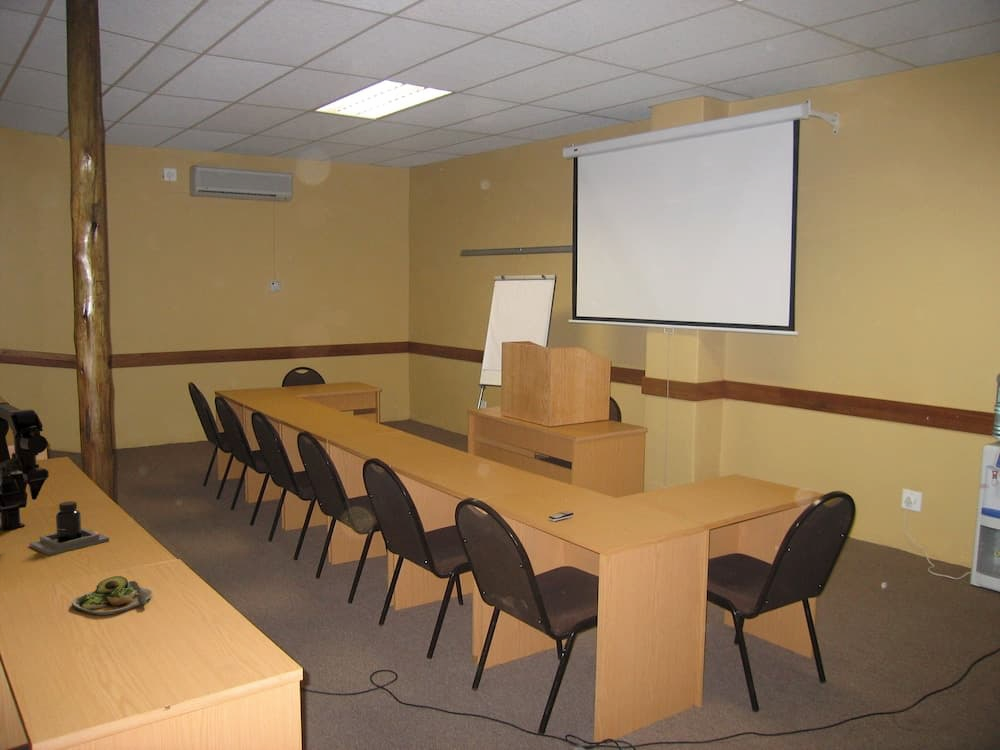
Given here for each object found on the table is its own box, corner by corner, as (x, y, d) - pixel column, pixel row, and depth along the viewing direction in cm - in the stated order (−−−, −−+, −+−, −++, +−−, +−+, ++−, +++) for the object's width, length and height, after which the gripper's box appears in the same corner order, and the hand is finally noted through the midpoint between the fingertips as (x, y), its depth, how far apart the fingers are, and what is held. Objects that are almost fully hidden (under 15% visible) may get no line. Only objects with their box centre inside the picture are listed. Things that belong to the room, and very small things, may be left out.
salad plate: (173, 599, 202) (172, 582, 202) (109, 624, 187) (108, 606, 186) (127, 585, 212) (126, 568, 211) (62, 608, 196) (61, 590, 196)
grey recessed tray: (29, 546, 242) (29, 538, 242) (89, 532, 256) (88, 524, 256) (48, 555, 233) (48, 547, 233) (109, 540, 247) (109, 533, 247)
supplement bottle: (56, 544, 240) (53, 507, 239) (58, 538, 246) (56, 501, 245) (81, 541, 243) (79, 504, 242) (82, 535, 249) (80, 499, 248)
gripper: (-15, 449, 247) (-12, 497, 249) (8, 457, 236) (12, 507, 238) (23, 444, 256) (26, 490, 258) (48, 451, 245) (51, 499, 246)
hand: (28, 497), depth 250 cm, fingers open, 9 cm apart
